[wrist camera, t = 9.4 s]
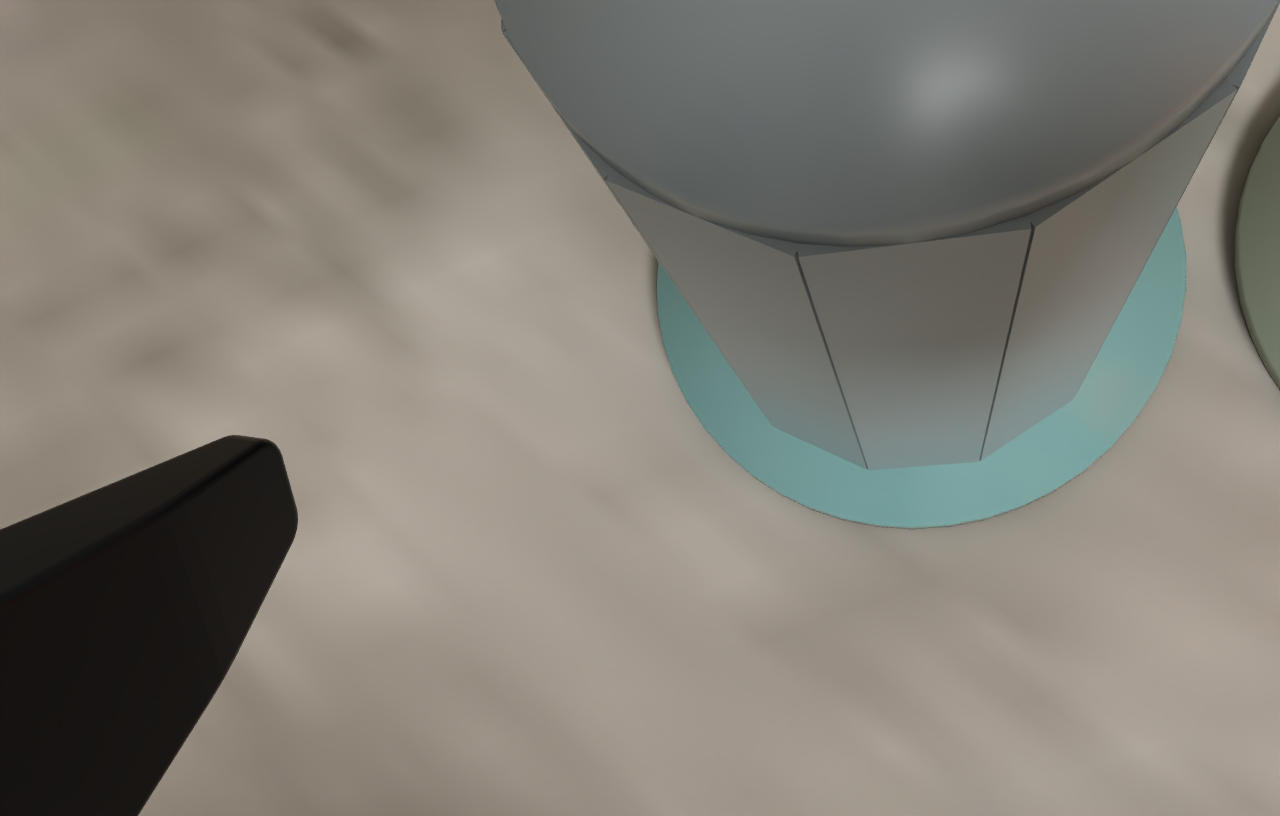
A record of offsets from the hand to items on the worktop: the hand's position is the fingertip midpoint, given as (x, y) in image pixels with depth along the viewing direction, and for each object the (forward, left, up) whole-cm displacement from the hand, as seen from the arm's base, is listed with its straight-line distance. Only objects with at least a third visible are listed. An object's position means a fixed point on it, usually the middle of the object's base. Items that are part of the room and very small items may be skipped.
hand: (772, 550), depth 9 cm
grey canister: (+3, +6, -12) cm, 14 cm away
